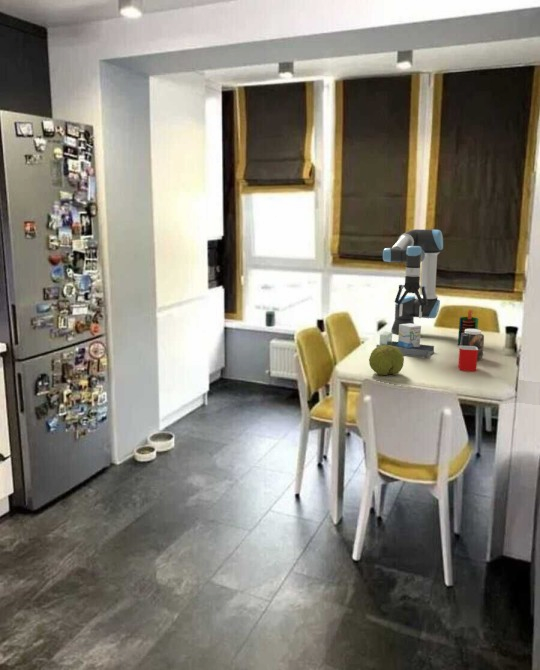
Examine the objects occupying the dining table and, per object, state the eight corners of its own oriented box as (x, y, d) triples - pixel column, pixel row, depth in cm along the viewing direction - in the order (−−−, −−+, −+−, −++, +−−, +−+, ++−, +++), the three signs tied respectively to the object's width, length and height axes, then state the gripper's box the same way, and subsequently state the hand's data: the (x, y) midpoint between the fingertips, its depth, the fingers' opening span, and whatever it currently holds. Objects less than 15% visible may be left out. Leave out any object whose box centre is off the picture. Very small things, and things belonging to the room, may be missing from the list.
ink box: (407, 348, 307) (409, 326, 305) (397, 345, 314) (398, 324, 312) (420, 346, 311) (421, 325, 308) (409, 343, 318) (410, 322, 316)
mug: (477, 371, 276) (478, 350, 274) (459, 370, 278) (460, 349, 275) (473, 365, 288) (475, 344, 285) (456, 364, 289) (457, 343, 287)
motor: (457, 345, 329) (459, 311, 325) (458, 342, 338) (460, 308, 333) (476, 347, 326) (478, 312, 322) (476, 344, 334) (479, 310, 330)
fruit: (389, 381, 261) (374, 351, 261) (372, 384, 274) (358, 355, 274) (414, 365, 267) (400, 336, 267) (397, 369, 280) (383, 341, 280)
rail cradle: (384, 346, 327) (385, 330, 325) (433, 352, 314) (434, 335, 312) (376, 351, 315) (376, 335, 313) (427, 357, 302) (428, 340, 300)
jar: (455, 358, 301) (457, 330, 298) (464, 354, 310) (466, 327, 306) (477, 362, 293) (479, 333, 290) (486, 358, 302) (488, 330, 299)
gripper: (389, 275, 307) (387, 316, 312) (432, 277, 296) (429, 319, 301) (394, 273, 313) (392, 313, 318) (435, 276, 302) (433, 317, 307)
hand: (410, 316), depth 309 cm, fingers open, 10 cm apart
